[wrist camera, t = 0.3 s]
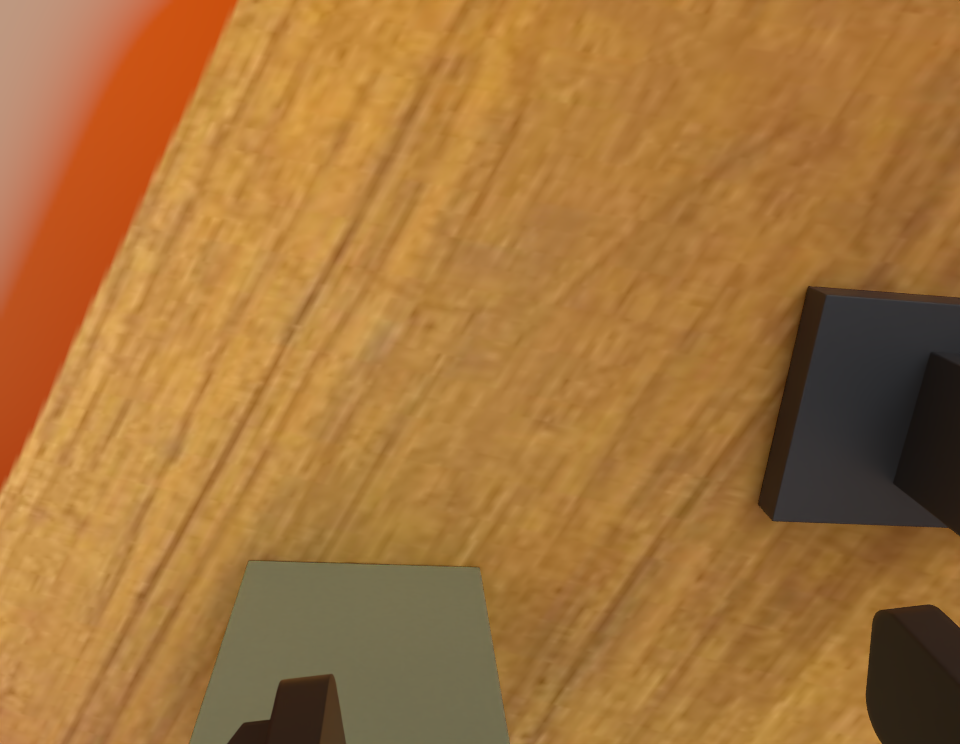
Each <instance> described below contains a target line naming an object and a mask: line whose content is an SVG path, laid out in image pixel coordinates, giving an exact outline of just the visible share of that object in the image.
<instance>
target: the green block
mask: <svg viewBox="0 0 960 744" xmlns="http://www.w3.org/2000/svg"><path fill="white" fill-rule="evenodd" d="M325 674H333V675H334V678H335V681H336V686H337V692H338V698H339V704H340V710H341V716H342V722H343V728H344V734H345V740H346V744H510V742H509V736H508V730H507V724H506V718H505V712H504V706H503V701H502V695H501V689H500V683H499V677H498V671H497V665H496V660H495V654H494V648H493V642H492V636H491V630H490V624H489V619H488V613H487V607H486V601H485V595H484V589H483V583H482V578H481V572H480V568H479V567H450V566H416V565H382V564H347V563H313V562H279V561H248V564H247V567H246V570H245V573H244V576H243V579H242V582H241V585H240V588H239V592H238V595H237V598H236V601H235V604H234V607H233V610H232V613H231V616H230V619H229V622H228V625H227V628H226V632H225V635H224V638H223V641H222V644H221V647H220V650H219V653H218V656H217V659H216V662H215V665H214V668H213V672H212V675H211V678H210V681H209V684H208V687H207V690H206V693H205V696H204V699H203V702H202V705H201V708H200V712H199V715H198V718H197V721H196V724H195V727H194V730H193V733H192V736H191V739H190V742H189V744H227V743H228V742H229V740H230V739H231V738H232V737H233V735H234V734H235V733H236V731H237V730H238V729H239V728H240V726H241V725H242V724H243V723H245V722H253V721H261V720H270V718H271V713H272V709H273V705H274V701H275V697H276V692H277V688H278V685H279V682H280V681H281V680H283V679H291V678H300V677H308V676H316V675H325Z"/></svg>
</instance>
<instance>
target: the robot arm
mask: <svg viewBox="0 0 960 744" xmlns="http://www.w3.org/2000/svg"><path fill="white" fill-rule="evenodd" d="M866 704H867V710H868V714H869V717H870V721H871V723H872V726H873V728H874V731H875V733H876V735H877V736H878V738H879V740H880V741H881V743H882V744H960V628H959V627H958V626H957V625H956V624H955V623H954V622H953V621H952V620H951V619H950V618H949V617H948V616H947V615H945V614H944V613H943V612H942V611H941V610H940V609H939V608H937V607H936V606H933V605H920V606H911V607H903V608H895V609H886V610H880V611H878V612H877V613H876V614H875V616H874V619H873V623H872V632H871V643H870V654H869V665H868V676H867V687H866ZM227 744H346V740H345V734H344V728H343V722H342V716H341V710H340V704H339V698H338V692H337V686H336V681H335V678H334V675H333V674H325V675H316V676H308V677H300V678H291V679H283V680H281V681H280V682H279V685H278V688H277V692H276V697H275V701H274V705H273V709H272V713H271V718H270V720H261V721H253V722H245V723H243V724H242V725H241V726H240V728H239V729H238V730H237V731H236V733H235V734H234V735H233V737H232V738H231V739H230V740H229V742H228V743H227Z"/></svg>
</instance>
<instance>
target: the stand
mask: <svg viewBox="0 0 960 744" xmlns="http://www.w3.org/2000/svg"><path fill="white" fill-rule="evenodd" d="M758 505H759V506H760V507H761V509H762V510H763V511H764V512H765V513H766V514H767V515H768V516H769V518H770V519H771V520H772V521H783V522H809V523H836V524H862V525H888V526H915V527H941V528H950V529H951V530H953V531H954V532H955V533H956V534H958V535H959V536H960V298H956V297H943V296H930V295H917V294H904V293H891V292H877V291H864V290H851V289H838V288H825V287H812V286H809V287H808V290H807V295H806V299H805V303H804V308H803V312H802V316H801V321H800V325H799V329H798V334H797V338H796V342H795V347H794V351H793V355H792V360H791V364H790V368H789V373H788V377H787V381H786V386H785V390H784V394H783V399H782V403H781V407H780V412H779V416H778V420H777V425H776V429H775V433H774V438H773V442H772V446H771V451H770V455H769V459H768V464H767V468H766V472H765V477H764V481H763V485H762V490H761V494H760V498H759V503H758Z"/></svg>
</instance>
